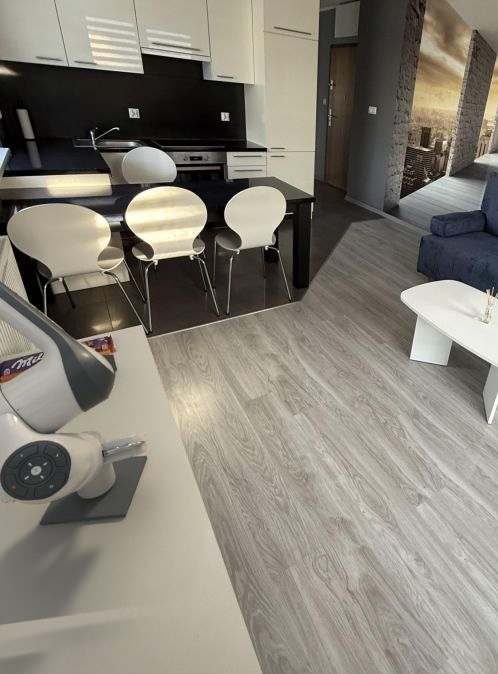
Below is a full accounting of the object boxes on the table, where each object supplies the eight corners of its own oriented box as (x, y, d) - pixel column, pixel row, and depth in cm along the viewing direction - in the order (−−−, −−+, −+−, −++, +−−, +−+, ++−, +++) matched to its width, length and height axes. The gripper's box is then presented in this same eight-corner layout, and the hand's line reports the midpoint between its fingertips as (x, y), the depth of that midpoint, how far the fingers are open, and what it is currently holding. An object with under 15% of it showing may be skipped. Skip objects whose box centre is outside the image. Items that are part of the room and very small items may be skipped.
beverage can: (69, 496, 75) (52, 451, 69) (97, 468, 80) (83, 425, 75) (98, 505, 74) (82, 460, 68) (124, 476, 79) (112, 433, 74)
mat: (40, 525, 71) (39, 522, 70) (74, 463, 82) (73, 461, 82) (125, 516, 73) (125, 513, 73) (147, 458, 84) (146, 455, 84)
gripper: (141, 423, 68) (148, 424, 80) (-14, 463, 59) (20, 458, 71) (146, 461, 66) (153, 457, 78) (-12, 508, 57) (23, 495, 69)
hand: (89, 458), depth 74 cm, fingers closed on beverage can, 6 cm apart
